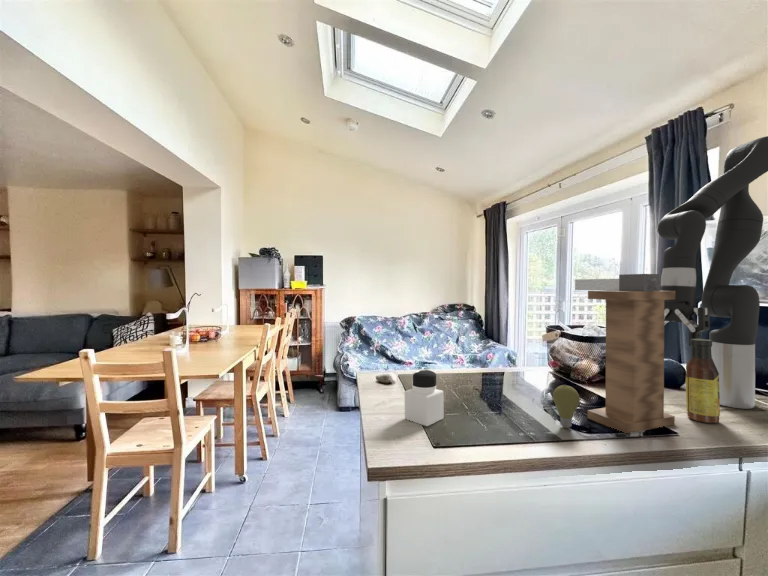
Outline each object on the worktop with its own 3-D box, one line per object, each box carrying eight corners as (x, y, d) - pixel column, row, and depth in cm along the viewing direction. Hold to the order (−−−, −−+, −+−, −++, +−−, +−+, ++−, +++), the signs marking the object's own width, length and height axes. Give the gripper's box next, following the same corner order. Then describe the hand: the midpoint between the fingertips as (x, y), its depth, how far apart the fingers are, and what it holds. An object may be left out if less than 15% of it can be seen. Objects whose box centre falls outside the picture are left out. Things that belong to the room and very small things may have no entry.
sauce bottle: (726, 425, 85) (727, 342, 85) (696, 423, 86) (696, 341, 86) (707, 415, 91) (708, 338, 91) (679, 413, 92) (680, 337, 92)
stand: (633, 410, 95) (634, 290, 95) (674, 424, 85) (675, 290, 85) (587, 418, 90) (587, 290, 89) (625, 433, 80) (626, 291, 80)
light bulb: (569, 434, 80) (569, 390, 80) (547, 426, 85) (547, 384, 85) (584, 429, 83) (585, 386, 82) (563, 421, 88) (563, 381, 87)
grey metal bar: (585, 289, 102) (585, 275, 102) (659, 291, 83) (659, 274, 83) (572, 290, 101) (572, 275, 101) (643, 291, 82) (644, 273, 82)
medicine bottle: (444, 418, 90) (444, 371, 90) (427, 427, 85) (427, 376, 84) (421, 411, 95) (421, 366, 94) (404, 419, 89) (404, 371, 89)
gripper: (717, 285, 93) (715, 348, 93) (659, 285, 106) (657, 340, 106) (699, 284, 90) (696, 348, 90) (642, 284, 104) (639, 340, 104)
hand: (675, 343), depth 98 cm, fingers open, 8 cm apart
